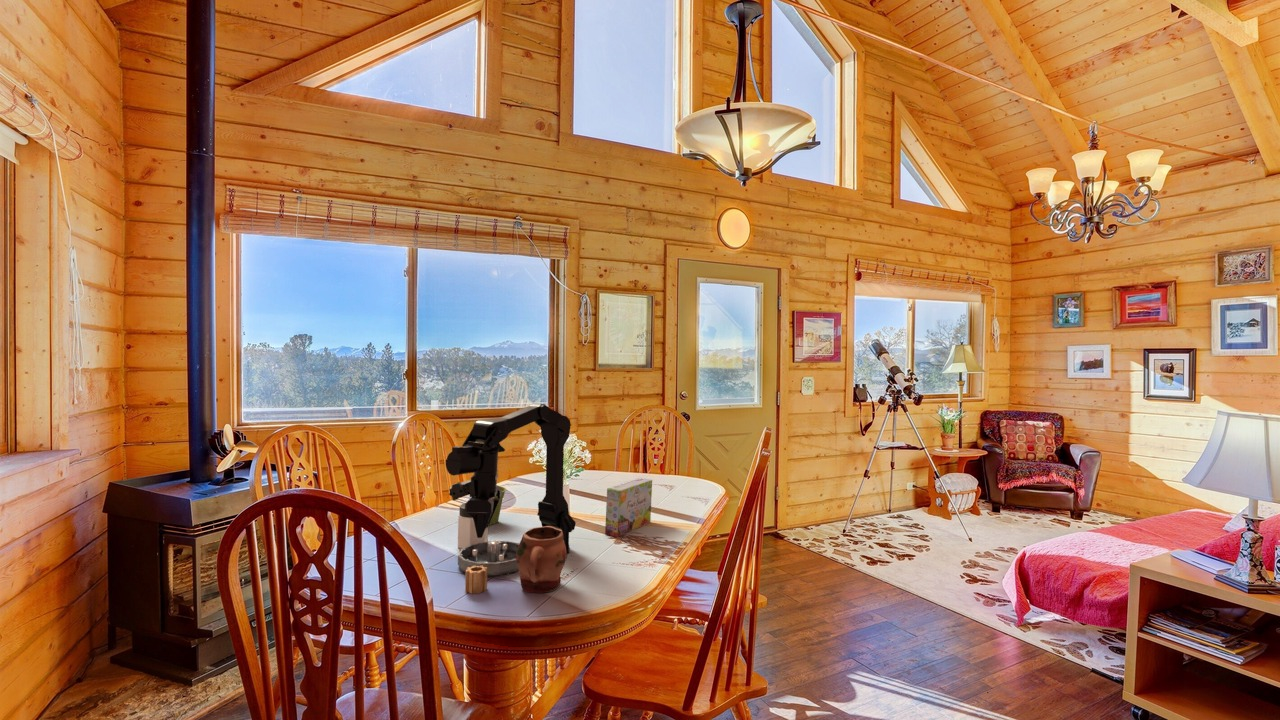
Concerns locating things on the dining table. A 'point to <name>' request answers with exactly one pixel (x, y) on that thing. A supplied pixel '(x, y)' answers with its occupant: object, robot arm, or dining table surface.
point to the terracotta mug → (541, 559)
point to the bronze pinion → (476, 579)
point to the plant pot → (498, 508)
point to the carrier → (490, 557)
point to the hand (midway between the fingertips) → (482, 532)
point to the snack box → (628, 506)
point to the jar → (468, 530)
